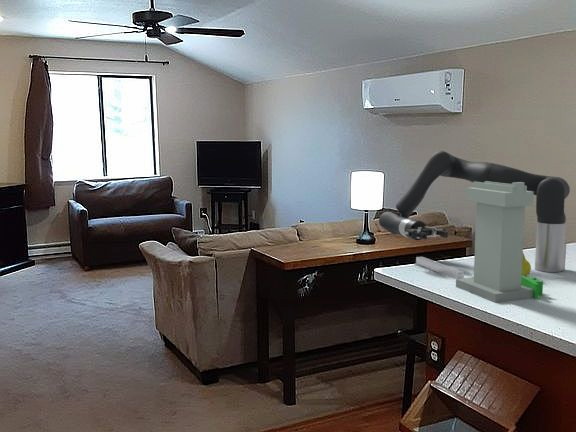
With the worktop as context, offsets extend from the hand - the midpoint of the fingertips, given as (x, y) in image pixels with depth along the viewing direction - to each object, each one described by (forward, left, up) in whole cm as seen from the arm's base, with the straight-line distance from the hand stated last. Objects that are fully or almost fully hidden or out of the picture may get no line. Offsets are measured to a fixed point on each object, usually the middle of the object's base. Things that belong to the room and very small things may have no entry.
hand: (436, 235), depth 209 cm
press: (0, +31, -13) cm, 34 cm away
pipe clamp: (-10, +37, -13) cm, 41 cm away
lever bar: (0, +2, -13) cm, 13 cm away
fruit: (-20, +20, -13) cm, 31 cm away
